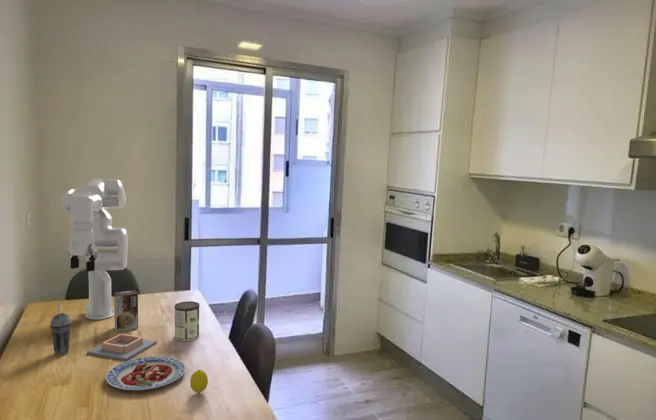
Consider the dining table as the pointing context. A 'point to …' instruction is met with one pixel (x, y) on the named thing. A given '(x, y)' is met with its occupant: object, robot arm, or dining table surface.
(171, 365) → the ceramic plate
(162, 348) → the dining table surface
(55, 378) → the dining table surface
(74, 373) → the dining table surface
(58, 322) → the beverage cup
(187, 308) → the coffee can
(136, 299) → the coffee box
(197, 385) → the lemon
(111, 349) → the collar stand
